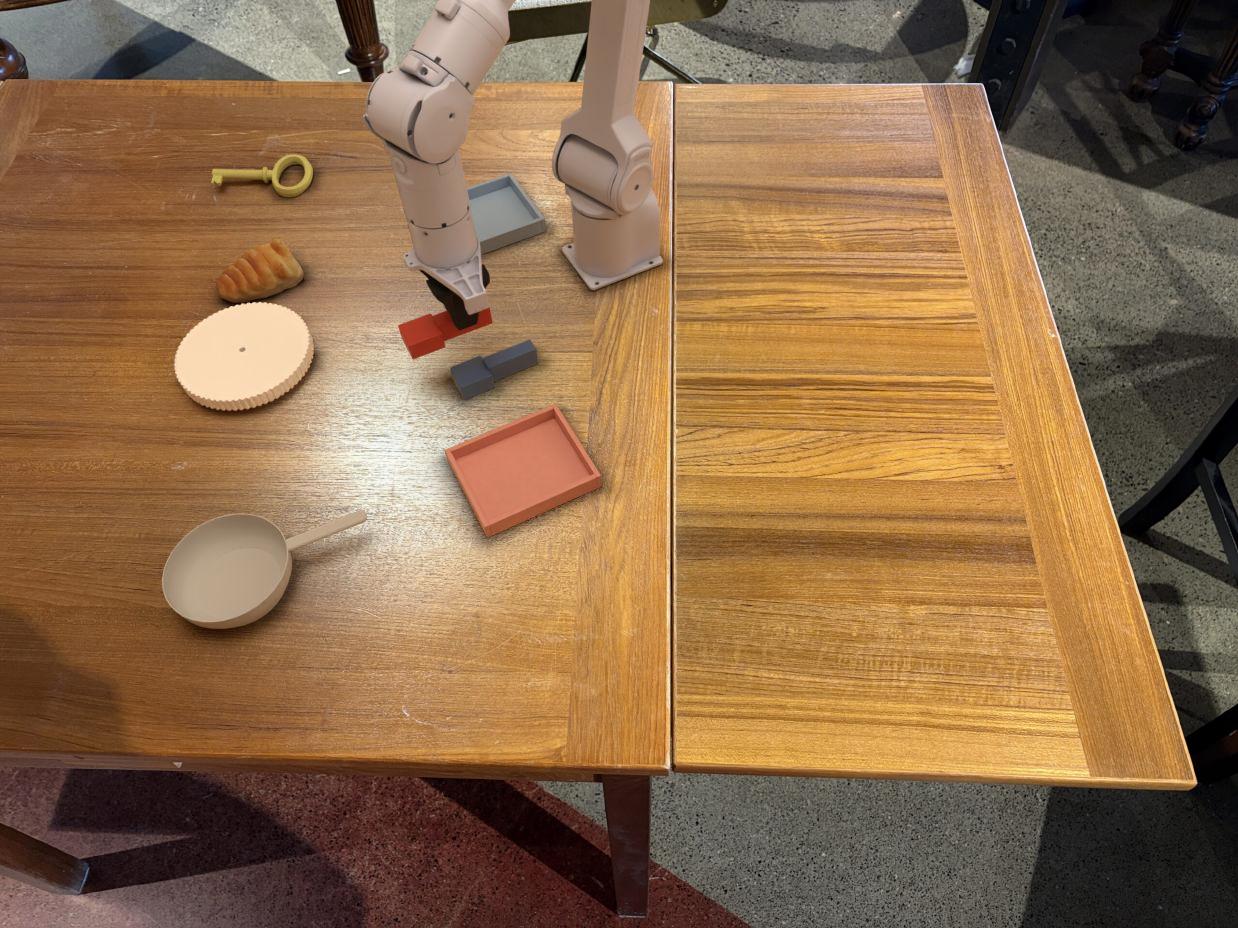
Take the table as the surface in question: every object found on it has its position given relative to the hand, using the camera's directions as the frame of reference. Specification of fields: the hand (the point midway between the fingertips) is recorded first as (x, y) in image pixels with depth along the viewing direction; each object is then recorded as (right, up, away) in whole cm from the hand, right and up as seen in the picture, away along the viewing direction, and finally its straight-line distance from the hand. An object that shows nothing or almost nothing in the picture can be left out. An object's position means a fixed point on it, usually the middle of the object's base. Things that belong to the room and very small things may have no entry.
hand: (462, 318), depth 89 cm
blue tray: (-1, +15, +19) cm, 24 cm away
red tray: (+6, -15, -2) cm, 17 cm away
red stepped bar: (-1, -1, +1) cm, 2 cm away
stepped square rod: (+3, -5, +5) cm, 8 cm away
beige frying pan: (-15, -24, -7) cm, 30 cm away
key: (-29, +21, +25) cm, 44 cm away
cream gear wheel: (-24, -4, +7) cm, 25 cm away
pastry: (-25, +6, +14) cm, 30 cm away
